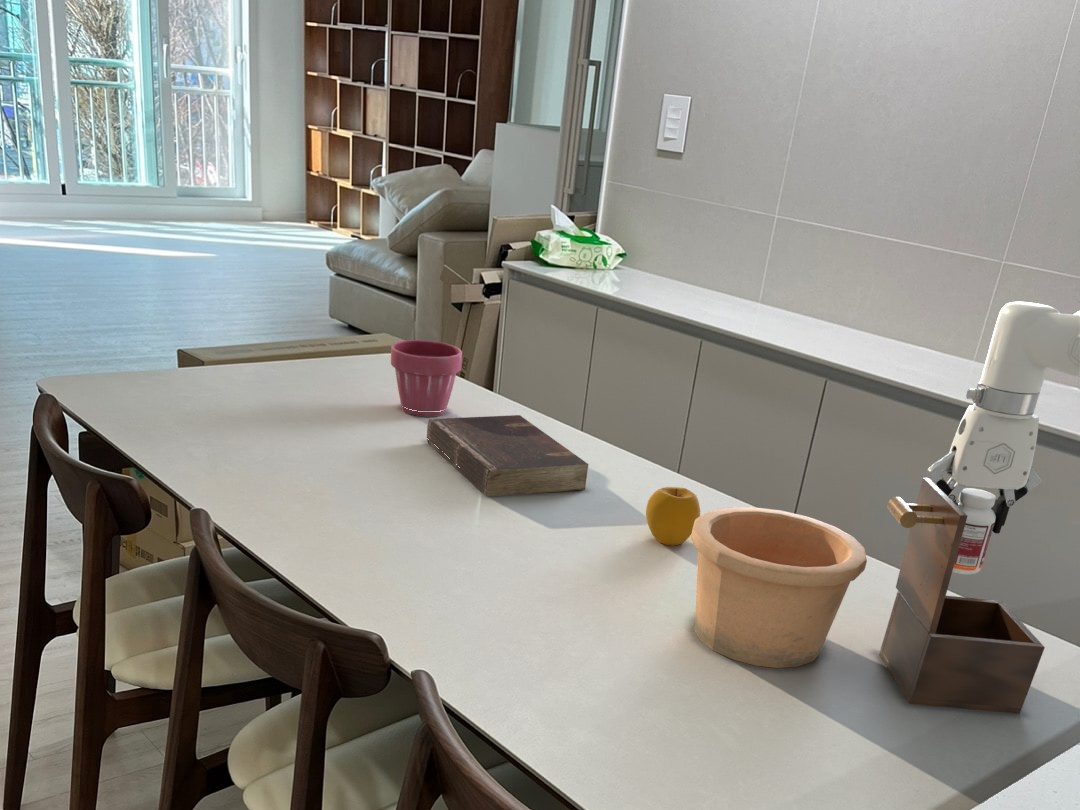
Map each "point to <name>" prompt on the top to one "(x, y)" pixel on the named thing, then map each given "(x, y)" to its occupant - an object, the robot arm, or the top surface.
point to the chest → (962, 656)
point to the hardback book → (506, 455)
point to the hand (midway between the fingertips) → (969, 527)
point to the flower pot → (425, 374)
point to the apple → (672, 514)
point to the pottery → (770, 583)
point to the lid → (928, 550)
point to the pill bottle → (975, 529)
